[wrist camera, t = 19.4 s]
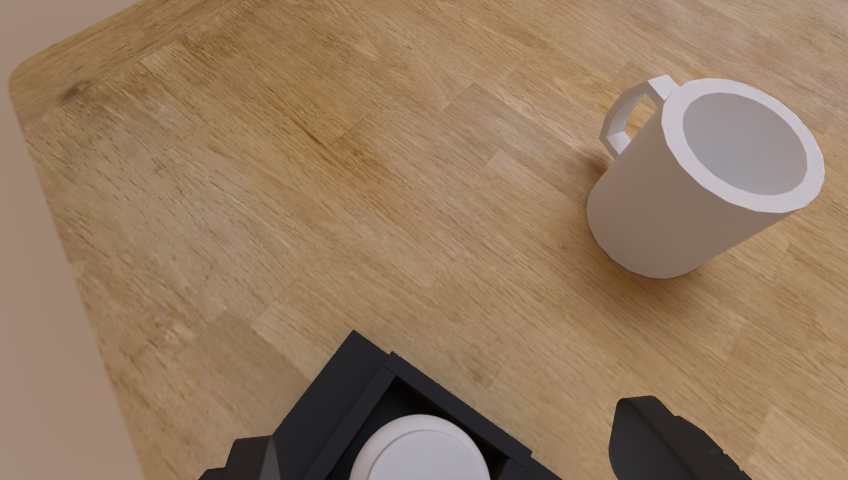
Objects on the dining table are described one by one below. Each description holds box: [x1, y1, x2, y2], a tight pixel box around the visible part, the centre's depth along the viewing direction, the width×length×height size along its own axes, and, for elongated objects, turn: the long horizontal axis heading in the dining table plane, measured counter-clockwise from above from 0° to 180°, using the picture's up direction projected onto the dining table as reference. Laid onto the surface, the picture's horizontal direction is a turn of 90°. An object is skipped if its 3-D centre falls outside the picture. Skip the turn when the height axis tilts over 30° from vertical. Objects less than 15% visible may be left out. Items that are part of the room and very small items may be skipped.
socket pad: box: [272, 330, 562, 480], centre depth 25 cm, size 10×16×4 cm, turn 56°
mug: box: [586, 74, 825, 279], centre depth 32 cm, size 14×10×11 cm
